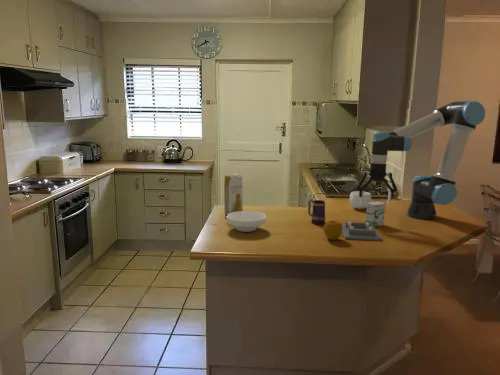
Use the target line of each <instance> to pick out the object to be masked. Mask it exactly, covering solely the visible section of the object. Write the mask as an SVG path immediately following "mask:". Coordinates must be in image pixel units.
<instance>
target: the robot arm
mask: <svg viewBox="0 0 500 375" xmlns="http://www.w3.org/2000/svg"><path fill="white" fill-rule="evenodd" d="M485 117H486V109H485V107H484V105H483V104H482V103H480V102H479V101H476V100H475V101H474V100H467V101H465V100H464V101H463V100H462V101H453V102H450V103H447V104H446V105H442V106H441V107H439V108H436V109H434V110H432V113H430V114H428V115H426V116H424V117H421V118H419V119H417V120H415V121H412V122H410V123H408V124H406V125H404V126H401V127H400V128H397V129H394V130H393V131H390V132H388V131H375V132H373V135H372V145H371V157H370V169H369V170H370V171H363V174H362V176H361V178H360V180H359V182H358V183H357V185H356V186H355V189H356V190H357V191H359V197H361V204H363V196H364V192H365V191H364V189H365V188H366V187H368V185H369V184H371V183H372V181H373V182H383V183H384V184H385V186H386V187H387V188H388V190H389V191H388V195H387V205H388V206H391V200H392V199H393V198H394V193H395V192H397V191H398V188H397V185H396V183H395V181H394V178H393V173H392V172H387V161H388V152H408V151H410V150H411V148H412V147H413V145H412V144H413V140H412V138H415V137H417V136H419V135H421V134H423V133H426V132H428V131H430V130H432V129H433V130H434V129H435V128H437V127H443V126H447V125H449V126H450V127H451V131H450V134H449V137H448V139H447V143H446V144H445V148H444V151H443V154H442V157H441V160H440V162H439V165H438V168H437V171H436V173H433V175H414V177H413V179H412V192H411V201H410V204H409V207H408V209H407V211H406V212H407V213H406V215H407V216H408V217H410V218H414V219H421V220H434V219H436V218H437V209H436V206H435V205H437V204H438V205H443V206H446V205H448V204H451V203H453V201H454V200H456V197H457V195H458V190H457V187H456V184H457V181H456V179H455V177H456V176H455V175H456V174H457V171H458V168H459V166H460V163H461V160H462V157H463V154H464V151H465V149H466V145H467V143H468V140H469V137H470V135H471V133H473V132H474V131H476V127H477V126H478V125H480V124H481V123H482V122H484V120H485ZM368 176H369V178H368V179H367V180H366V178H367V177H368ZM386 177H388V178H389V181H390V183H391V185H390V184H389V183H388V182H387V180H386V179H385V178H386ZM365 180H366V181H365ZM364 181H365V182H364ZM391 186H392V187H391Z"/></svg>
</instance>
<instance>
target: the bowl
mask: <svg viewBox="0 0 500 375" xmlns="http://www.w3.org/2000/svg"><path fill="white" fill-rule="evenodd" d="M225 217H226V221H227V223H228V224H229V225H231V226H232V227H234V228H235V229H236V230H237V231H238V232H250V233H251V232H255V230H257V229H258V228H259V227H260V226H262V225H263V224H265V223H266V220H267V215H266V214H265V213H263V212H260V211H255V210H254V211H253V210H243V211H238V212H232V213H229V214H228V215H227V216H225Z"/></svg>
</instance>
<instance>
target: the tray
mask: <svg viewBox="0 0 500 375" xmlns="http://www.w3.org/2000/svg"><path fill="white" fill-rule="evenodd" d="M342 227H343V229H342V234H343V237H344V239H345V240H358V241H360V240H361V241H381V242H382V237H381V235H380V234H379V233H378V231H377V230H376V228H375V227H373V226H371V223H366V222H358V221H357V222H353V221H345V224H342Z"/></svg>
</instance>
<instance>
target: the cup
mask: <svg viewBox="0 0 500 375" xmlns="http://www.w3.org/2000/svg"><path fill="white" fill-rule="evenodd" d="M368 202H372V195H371V193H370V192H367V191H364V196H363V204H361V197H359V190H357V191H355V190H354V191H351V192H350V195H349V203H350V205H351V206H352V207H353V208H354V209H355V210H359V211H364V210H365V209H367V203H368Z"/></svg>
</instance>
